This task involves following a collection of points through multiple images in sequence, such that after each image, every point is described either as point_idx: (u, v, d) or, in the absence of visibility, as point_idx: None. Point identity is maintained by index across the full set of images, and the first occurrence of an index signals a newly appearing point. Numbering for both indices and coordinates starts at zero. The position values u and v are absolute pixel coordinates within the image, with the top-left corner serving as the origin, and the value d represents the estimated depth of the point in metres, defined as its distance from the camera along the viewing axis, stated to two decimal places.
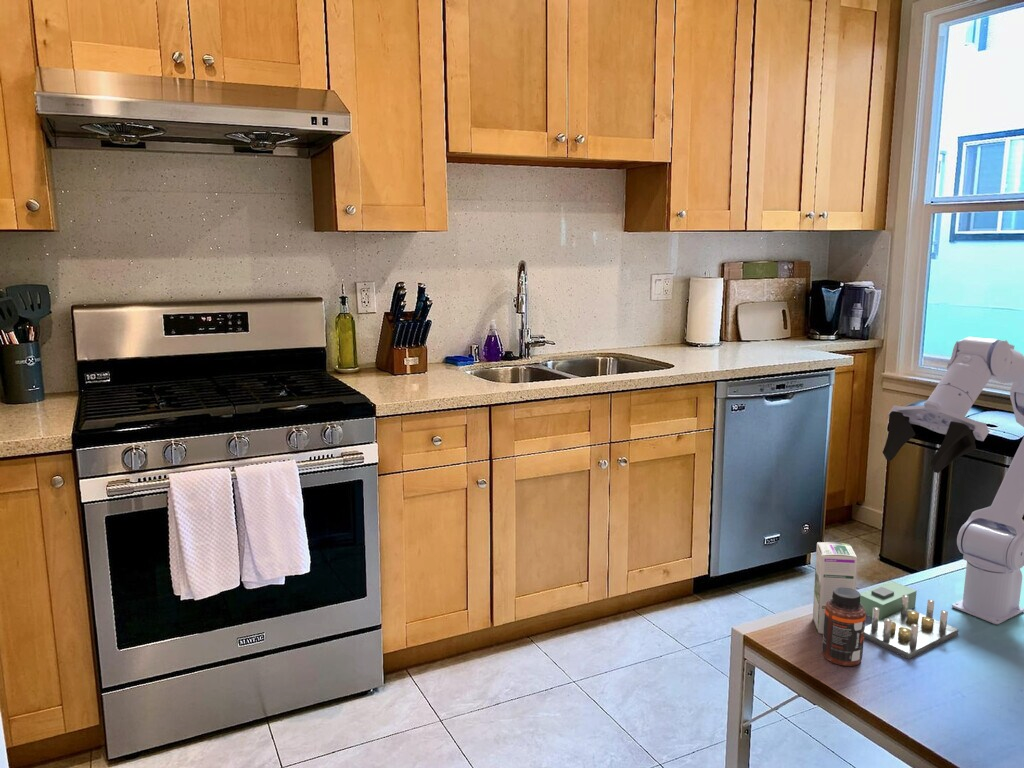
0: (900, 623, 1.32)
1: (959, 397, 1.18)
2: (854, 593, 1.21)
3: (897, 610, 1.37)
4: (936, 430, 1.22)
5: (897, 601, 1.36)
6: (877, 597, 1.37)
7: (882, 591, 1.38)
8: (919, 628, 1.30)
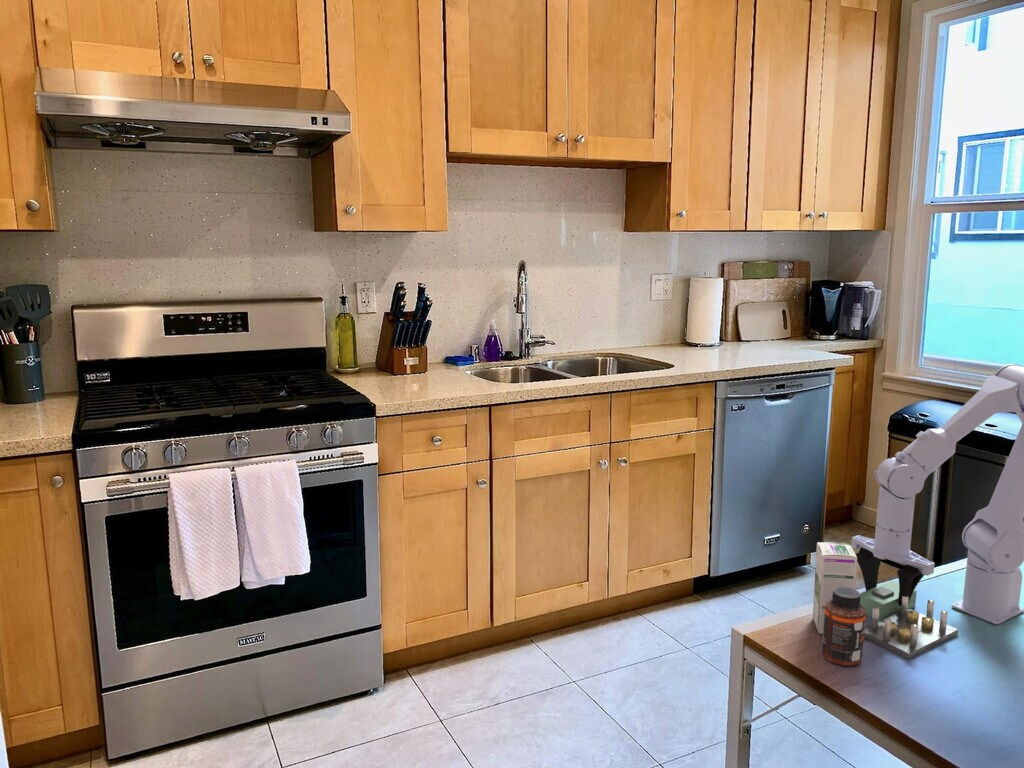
0: (900, 623, 1.32)
1: (898, 539, 1.34)
2: (854, 593, 1.21)
3: (897, 610, 1.37)
4: None
5: (897, 601, 1.37)
6: (877, 597, 1.37)
7: (882, 591, 1.38)
8: (919, 628, 1.30)
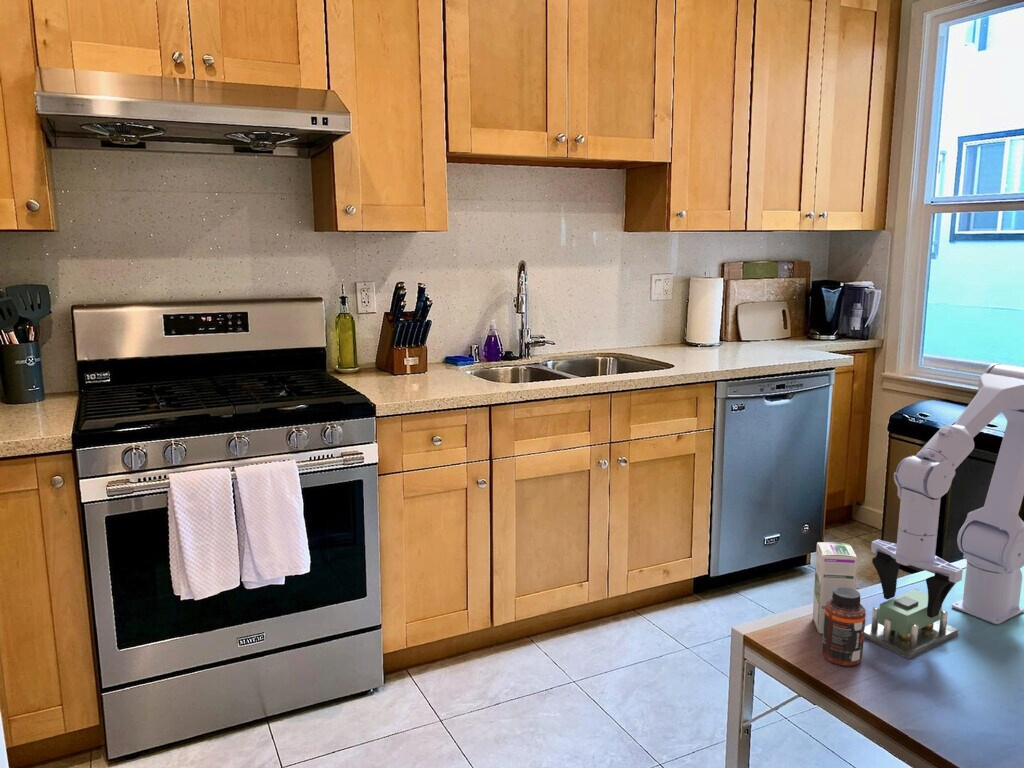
0: None
1: (922, 543, 1.24)
2: (854, 593, 1.21)
3: (922, 621, 1.27)
4: None
5: (921, 612, 1.27)
6: (900, 607, 1.27)
7: (905, 601, 1.28)
8: None
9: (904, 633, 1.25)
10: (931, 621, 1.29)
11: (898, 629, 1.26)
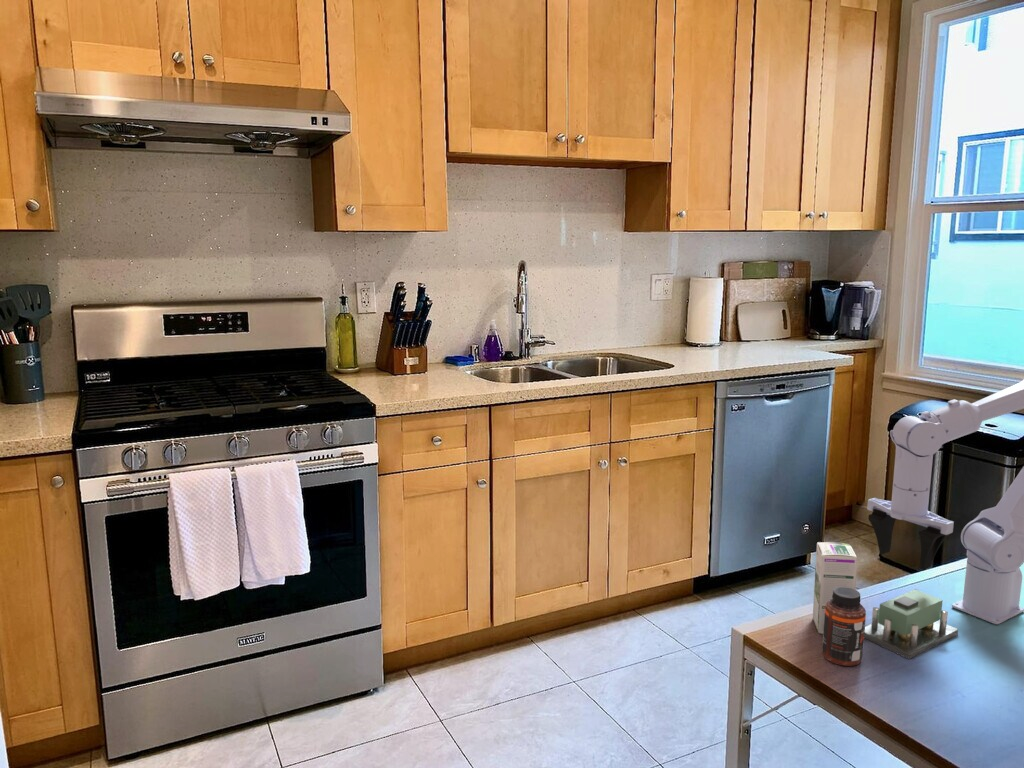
0: None
1: (916, 498, 1.31)
2: (854, 593, 1.21)
3: (922, 621, 1.27)
4: None
5: (921, 612, 1.27)
6: (900, 607, 1.27)
7: (905, 601, 1.28)
8: None
9: (904, 633, 1.25)
10: (931, 621, 1.29)
11: (898, 629, 1.26)
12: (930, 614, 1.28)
